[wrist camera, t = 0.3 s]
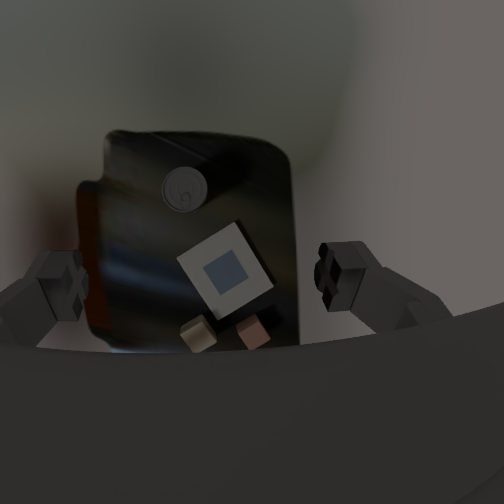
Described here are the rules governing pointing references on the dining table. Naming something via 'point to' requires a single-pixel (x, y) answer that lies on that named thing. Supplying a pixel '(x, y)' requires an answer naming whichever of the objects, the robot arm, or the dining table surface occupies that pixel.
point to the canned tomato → (184, 189)
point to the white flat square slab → (225, 271)
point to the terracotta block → (252, 332)
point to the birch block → (198, 334)
